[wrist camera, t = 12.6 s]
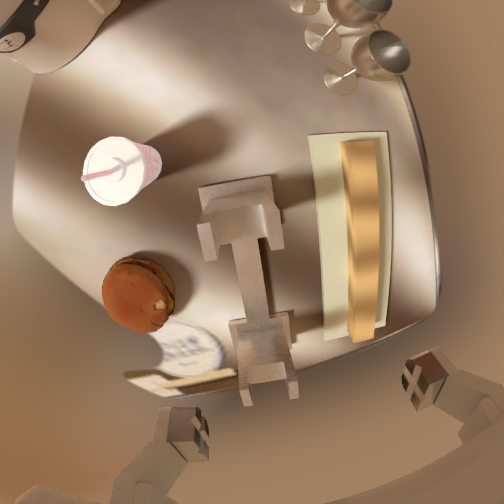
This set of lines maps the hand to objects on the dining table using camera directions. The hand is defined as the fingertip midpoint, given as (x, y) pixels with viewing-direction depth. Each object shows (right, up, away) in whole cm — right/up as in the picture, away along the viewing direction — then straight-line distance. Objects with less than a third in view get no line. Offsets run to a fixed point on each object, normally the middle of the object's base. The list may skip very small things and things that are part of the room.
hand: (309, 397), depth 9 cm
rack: (-2, +2, +26) cm, 26 cm away
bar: (+11, +6, +24) cm, 28 cm away
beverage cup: (-15, +15, +20) cm, 29 cm away
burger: (-17, +1, +26) cm, 31 cm away
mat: (+11, +6, +25) cm, 28 cm away
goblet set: (+4, +36, +14) cm, 39 cm away
